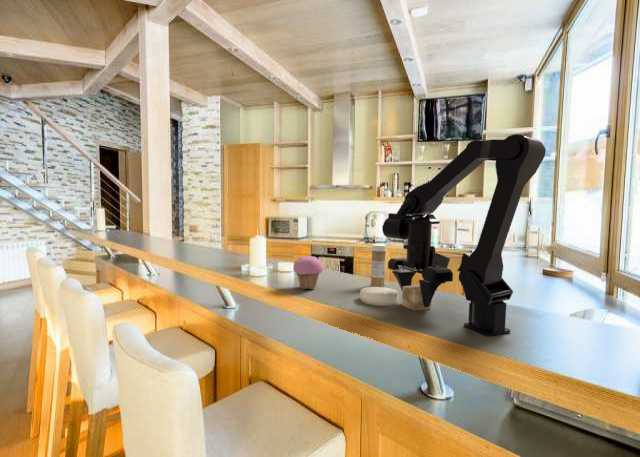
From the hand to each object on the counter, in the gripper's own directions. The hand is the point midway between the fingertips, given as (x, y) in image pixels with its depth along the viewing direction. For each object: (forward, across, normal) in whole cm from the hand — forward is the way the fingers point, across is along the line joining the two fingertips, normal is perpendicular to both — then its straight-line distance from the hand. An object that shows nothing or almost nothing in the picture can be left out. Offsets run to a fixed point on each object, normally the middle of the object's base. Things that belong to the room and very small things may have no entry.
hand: (416, 302), depth 86 cm
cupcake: (+1, +26, +20) cm, 33 cm away
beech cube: (+1, 0, 0) cm, 1 cm away
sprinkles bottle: (+1, +22, -2) cm, 22 cm away
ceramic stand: (+1, +8, +6) cm, 10 cm away
